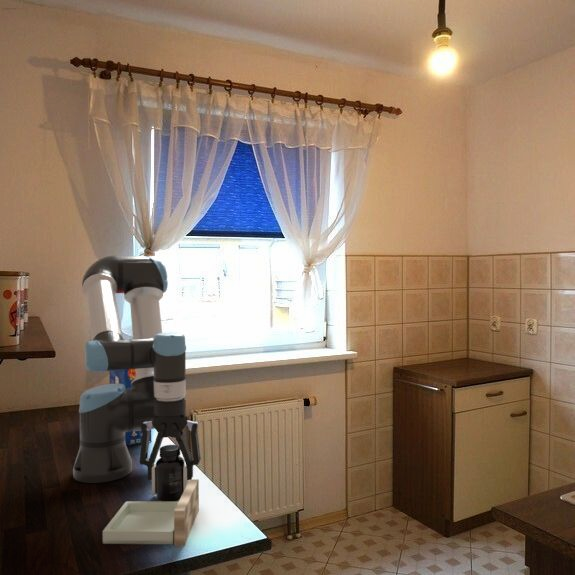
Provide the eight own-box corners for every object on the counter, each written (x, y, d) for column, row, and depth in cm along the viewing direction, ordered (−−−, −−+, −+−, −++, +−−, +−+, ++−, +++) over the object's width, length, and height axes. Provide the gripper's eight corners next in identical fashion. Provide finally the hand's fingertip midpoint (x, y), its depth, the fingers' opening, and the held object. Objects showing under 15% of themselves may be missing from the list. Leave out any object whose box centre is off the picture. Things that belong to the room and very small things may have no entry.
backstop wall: (190, 510, 119) (189, 479, 119) (198, 510, 119) (198, 479, 119) (174, 545, 103) (174, 510, 103) (184, 545, 103) (184, 510, 103)
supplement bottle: (187, 491, 129) (186, 442, 129) (182, 502, 122) (182, 452, 122) (159, 491, 129) (159, 443, 129) (153, 503, 122) (152, 452, 122)
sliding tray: (126, 512, 118) (126, 501, 118) (188, 512, 117) (187, 501, 117) (102, 543, 104) (102, 531, 104) (172, 544, 103) (172, 531, 103)
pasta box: (151, 442, 169) (150, 355, 169) (125, 445, 165) (125, 357, 165) (132, 421, 194) (131, 346, 193) (110, 424, 190) (109, 347, 189)
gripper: (123, 401, 122) (124, 499, 122) (208, 401, 122) (209, 499, 122) (133, 394, 129) (134, 486, 130) (213, 394, 129) (213, 486, 129)
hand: (170, 492), depth 126 cm, fingers closed on supplement bottle, 7 cm apart
